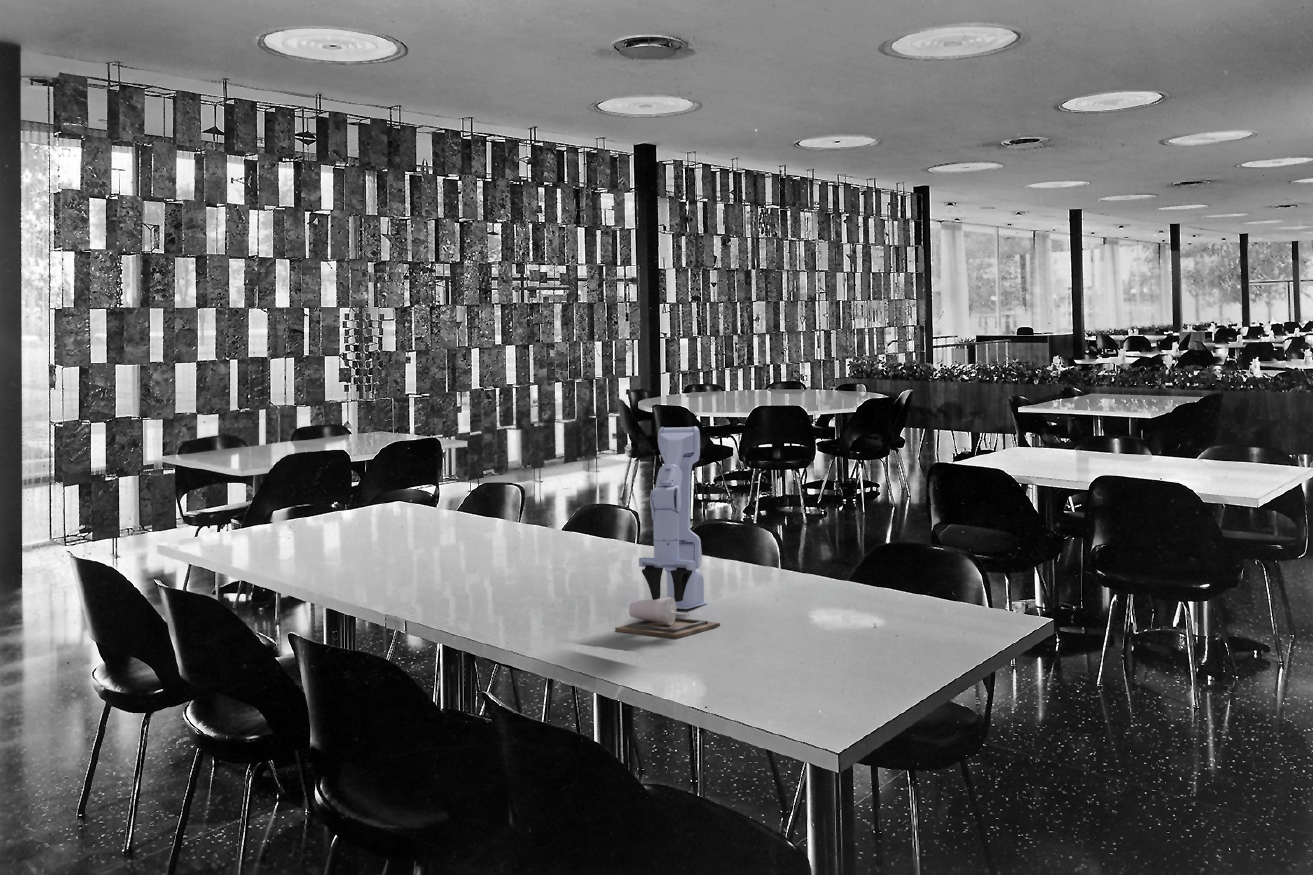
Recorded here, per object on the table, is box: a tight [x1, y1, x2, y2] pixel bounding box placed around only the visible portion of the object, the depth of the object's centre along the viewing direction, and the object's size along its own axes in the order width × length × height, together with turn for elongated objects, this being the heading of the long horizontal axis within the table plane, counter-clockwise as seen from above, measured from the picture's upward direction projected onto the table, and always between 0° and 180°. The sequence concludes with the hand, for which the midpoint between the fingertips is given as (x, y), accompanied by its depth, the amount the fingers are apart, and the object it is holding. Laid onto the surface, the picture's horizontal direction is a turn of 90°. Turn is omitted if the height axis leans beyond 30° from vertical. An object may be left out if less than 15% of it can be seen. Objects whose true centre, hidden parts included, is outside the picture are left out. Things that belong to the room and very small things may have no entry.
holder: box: [614, 617, 721, 639], centre depth 238 cm, size 17×17×1 cm
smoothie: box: [628, 596, 690, 626], centre depth 239 cm, size 6×6×14 cm
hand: (667, 600), depth 238 cm, fingers open, 6 cm apart
